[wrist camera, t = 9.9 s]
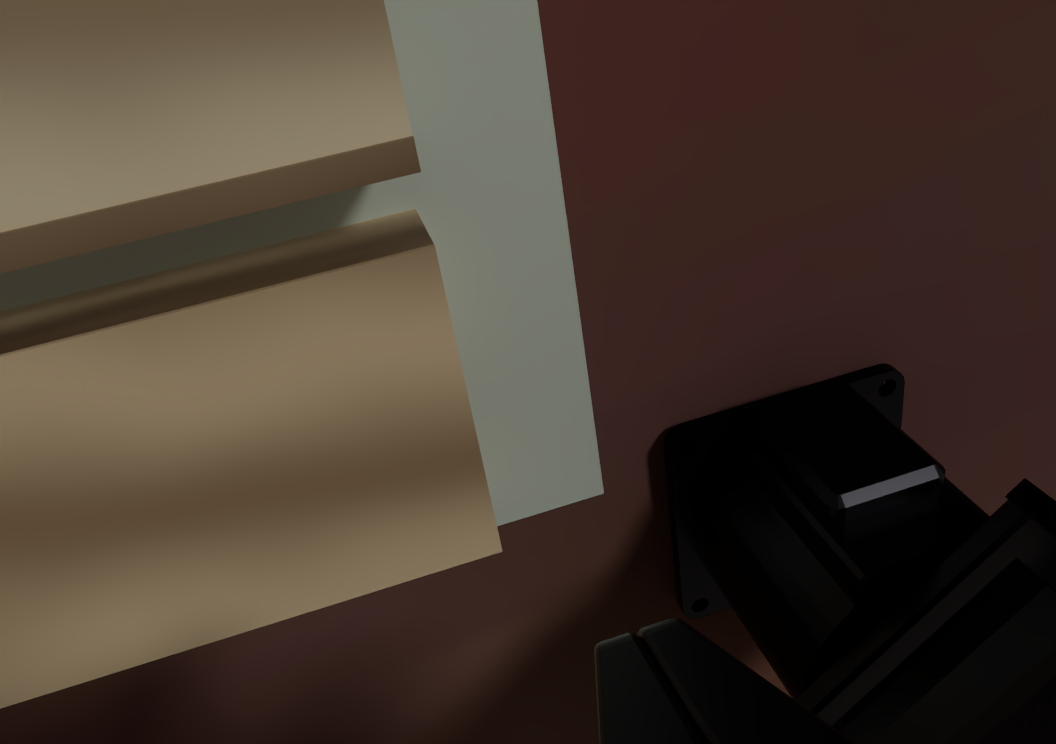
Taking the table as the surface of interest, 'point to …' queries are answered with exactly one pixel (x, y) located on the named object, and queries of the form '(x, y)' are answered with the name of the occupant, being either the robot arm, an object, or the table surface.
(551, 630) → the table surface
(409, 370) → the oak board
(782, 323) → the table surface
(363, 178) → the plank
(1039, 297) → the table surface
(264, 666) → the table surface
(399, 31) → the underlay mat
